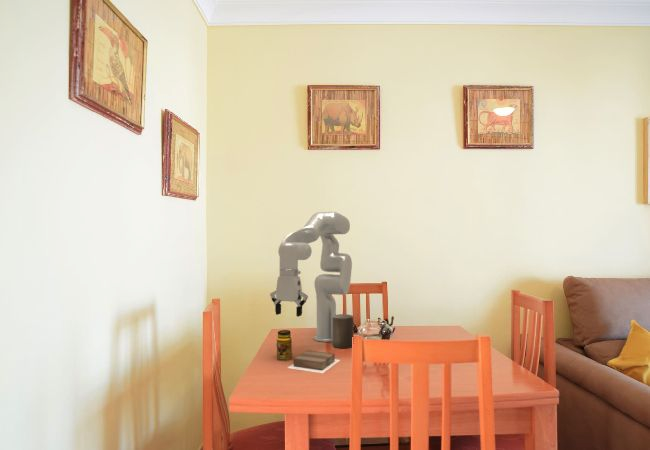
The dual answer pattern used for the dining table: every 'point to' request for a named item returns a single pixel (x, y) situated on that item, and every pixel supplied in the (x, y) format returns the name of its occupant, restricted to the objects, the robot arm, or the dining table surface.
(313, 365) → the plinth
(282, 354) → the condiment
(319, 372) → the base board
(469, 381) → the dining table surface
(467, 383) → the dining table surface
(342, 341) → the pillar candle
